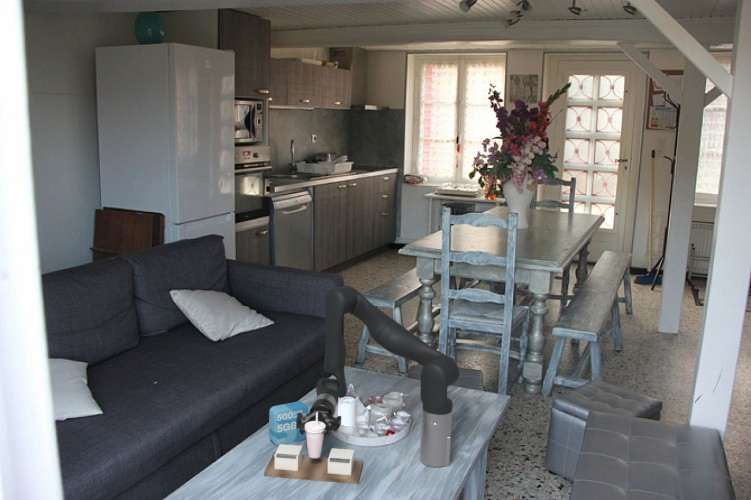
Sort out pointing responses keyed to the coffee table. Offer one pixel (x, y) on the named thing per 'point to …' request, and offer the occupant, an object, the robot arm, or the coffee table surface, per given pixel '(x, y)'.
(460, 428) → the coffee table surface
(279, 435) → the data package
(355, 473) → the rail board
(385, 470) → the coffee table surface
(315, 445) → the smoothie
